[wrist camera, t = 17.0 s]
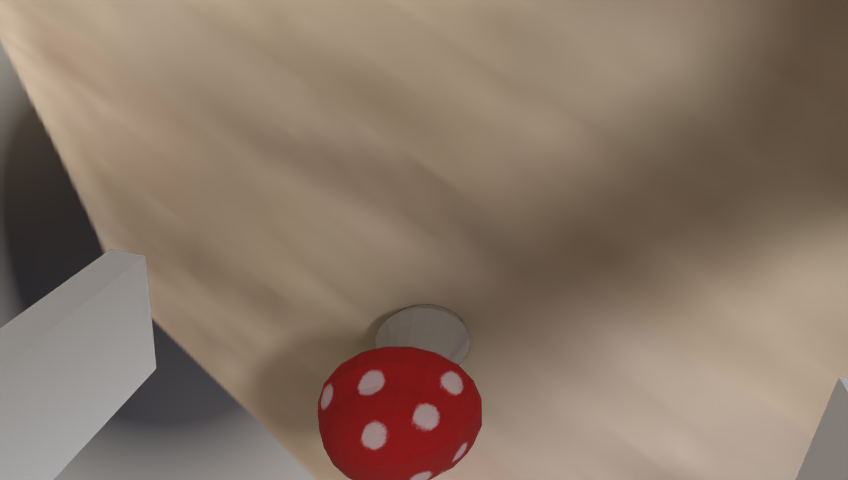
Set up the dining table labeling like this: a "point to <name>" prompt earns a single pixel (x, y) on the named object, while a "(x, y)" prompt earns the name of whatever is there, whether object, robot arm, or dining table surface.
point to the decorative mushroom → (403, 400)
